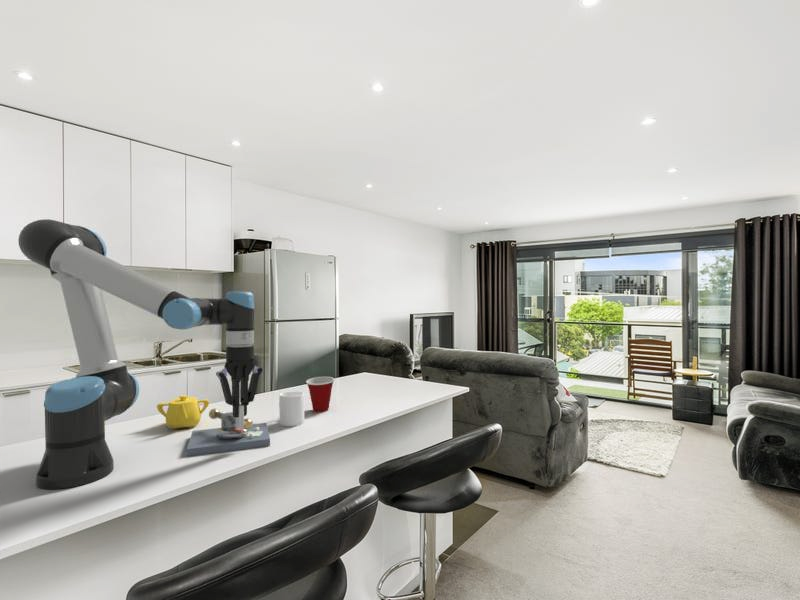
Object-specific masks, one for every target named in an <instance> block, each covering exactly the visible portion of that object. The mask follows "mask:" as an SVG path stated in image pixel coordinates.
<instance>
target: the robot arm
mask: <svg viewBox="0 0 800 600" xmlns="http://www.w3.org/2000/svg"><path fill="white" fill-rule="evenodd" d="M17 239H18V247H19V249H20V251H21V253H22V254H23V256H24V257H26V258H27V259H28V260H29V261H32V262H33V263H34V264H35V263H36V264H38V265H40V266H42V267H44V268H45V269H49V271H50V274H51V278H53V280H54V279H55V280H56V281H57V282H59V283H60V286H61V287H60V288H61V291H62V294H63V298H64V303H65V308H66V310H67V311H66V312H67V314H68V315H67V316H68V318H69V319H68V320H69V325H70V328H71V333H72V336H73V340H74V344H75V345H74V346H75V349H76V353H77V357H78V362H79V365H80V369H79V370H78V372H77V374H76V375H75V377H72V378H69V379H64V380H60V381H57V382H55V383H53V384H51V385H50V386H48V387H47V389H46V391H45V395H44V400H43V407H44V433H45V435H44V438H45V440H44V441H45V449H44V453H43V456H42V458H41V461H40V464H39V467H38V470H37V471H36V472H37V473H36V477H35V479H36V481H35V483H36V487H38V488H39V489H43V490H44V489H45V490H60V489H61V490H62V489H67V488H74V487H78V486H82V485H85V484H88V483H92V482H95V481H99V480H100V479H102V478H104V477H106V476H108V475H109V474H111V473H112V472H113V471H114V467H115V466H114V465H115V464H114V463H115V462H114V458H113V455H112V453H111V451H110V449H109V446H108V443H107V441H106V426H105V425H106V423H105V422H106V421H108V420H111V419H112V418H114V417H116V416H120V415H121V414H123V413H125V412H126V411H127V410H129V409H130V408H131V407H132V406H133V405H134V404H135V402H136V401H137V399H138V397H139V395H140V384H139V382H138V380H137V379H136V377H135V376H134V375H132V374H131V373H130V372H128V368H127V364H126V363H125V362H123V361H121V360H119V358H118V357H119V356H118V353H117V350H116V345H115V341H114V337H113V333H112V328H111V325H110V320H109V316H108V311H107V307H106V302H105V299H104V295H103V291H104V292H106V293H108V294H110V295H112V296H115V297H116V298H119V299H121V300H124V301H125V302H127V303H130V304H132V305H134V306H135V307H138V308H140V309H142V310H143V311H145V312H147V313H150V314H152V315H154V316H157V317H158V318H159V319H162V320H163V322H164V323H166V325H167V326H169V327H170V328H173V329H175V330H187V329H191V328H196V327H202V326H215V325H219V326H220V325H221V326H223V325H224V326H225V344H226V348H225V364H224V368H222V369H221V370H220V371H216V373H215V375H216V376H217V377H218V380H219V381H220V385H221V390H222V393H223V397H224V402H225V404H227V405H229V406H232V412H233V417H235V418H236V428H238V429H244V419H245V417H246V416H247V414H248V405H249V404H250V403H251V402H252V403H253V402H254V400H255V396H256V391H257V387H258V384H259V380H260V375H261V374H262V372H263V371H264V370H263V368H262V367H259V366H257V365H256V362H255V361H254V359H255V346H253V344H255V300H254V299H255V297H254V293H252V292H250V291H228V292H226V295H225V297H224V298H208V297H207V298H203V297H202V298H198V297H188V296H186V295H184V294H183V293H180V292H178V291H176V290H174V289H172V288H170V287H168V286H166V285H164V284H162V283H160V282H158V281H156V280H154V279H152V278H150V277H148V276H145V275H144V274H142V273H140V272H137V271H136V270H135V269H131V268H129V267H128V266H125V265H123V264H121V263H119V262H117V261H115V260H113V259H111V258H109V257H107V254H108V253H107V246H106V244H105V242H104V239H103V238H102V237H101V236H100V235H99V234H97V232H94V231H93V230H91V229H90V228H87V227H84V226H81V225H74V224H70V223H65V222H62V221H59V220H55V219H49V218H48V219H47V218H46V219H37V220H34V221H32V222H29V223H28V224H27V225H25V226H24V227H23V228H22V230H20V233H19V235H18V238H17ZM251 373H252V374H251ZM250 374H251V377H250ZM228 375H229V376H230V381H231V387H230V383H229V380H228V378H227V377H228ZM249 380H250V381H249Z"/></svg>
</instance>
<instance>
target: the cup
mask: <svg viewBox="0 0 800 600" xmlns="http://www.w3.org/2000/svg"><path fill="white" fill-rule="evenodd" d="M278 397H279V398H278V399H279V402H278V404H279V405H278V406H279V407H278V408H279V424H280V425H281V426H283V427H297V426H300V425H303V423H305V393H304V391H299V390H297V391H293V390H291V391H285V392H282V393H280V394H279V396H278Z"/></svg>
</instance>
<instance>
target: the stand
mask: <svg viewBox="0 0 800 600" xmlns="http://www.w3.org/2000/svg"><path fill="white" fill-rule="evenodd" d="M219 428H220V427H217V428H216V427H215V428H208V429H205V428H204V429H197V430H193V431H192V432H191V435H190V438H189V441H188V444H187V447H186V457H192V456H199V455H207V454H213V453H214V454H216V453H222V452H223V453H224V452H230V451H238V450H246V449H254V448H262V447H268V446H271V437H270V433H269V430H268V425H267V423H266V422H263V423H253V425H252V427H251V428H250V429H249V433H248V434H247V435H245V436H242V437H239V438H233V439H221V438H218V437H217V432H216V431H217V430H218V429H219Z"/></svg>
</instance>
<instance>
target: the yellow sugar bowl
mask: <svg viewBox="0 0 800 600" xmlns="http://www.w3.org/2000/svg"><path fill="white" fill-rule="evenodd" d="M199 403H203V406H202V408H201V406H200V404H199ZM209 404H210V401H209V399H204V398H203V399H199V400H198V399H197V397H195V396H188V395H187V394H182V395H180V396H179V397H177V398H173V399H172V400H170V402H162V403H158V404H157V405H156V408H157V411H158V412H159V413H160V414H161V415H162V416H164V418H165V425H166V426H167V427H168V428H169V429H171V430H177V428H178V429H181V428H188V427H191V428H194V427H195V426H197V425H199V422H200V421H201V418H202V413H204V412H205V410H206V409H207V408H208V406H209ZM166 406H167V409H166V411H165V410H164V408H163V407H166Z"/></svg>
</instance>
